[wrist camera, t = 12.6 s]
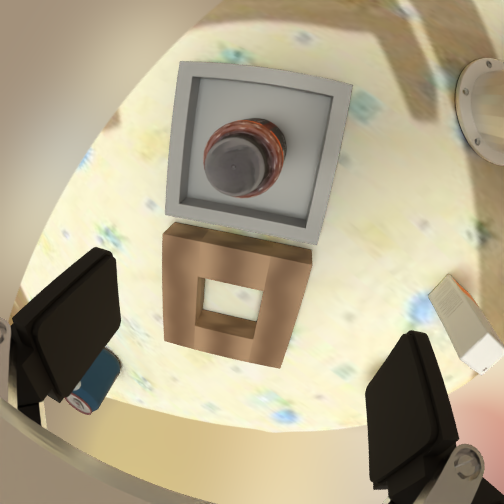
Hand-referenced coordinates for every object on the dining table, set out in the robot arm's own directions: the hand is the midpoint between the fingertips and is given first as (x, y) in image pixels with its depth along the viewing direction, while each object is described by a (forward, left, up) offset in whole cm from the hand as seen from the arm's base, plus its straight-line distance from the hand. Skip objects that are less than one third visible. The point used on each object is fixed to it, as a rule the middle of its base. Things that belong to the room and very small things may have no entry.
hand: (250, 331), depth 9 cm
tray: (+4, -2, -24) cm, 24 cm away
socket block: (+4, +16, -24) cm, 29 cm away
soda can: (+26, +38, -24) cm, 52 cm away
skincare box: (-24, +10, -24) cm, 36 cm away
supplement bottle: (+3, -2, -23) cm, 24 cm away
